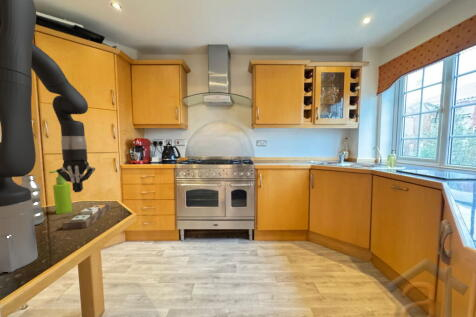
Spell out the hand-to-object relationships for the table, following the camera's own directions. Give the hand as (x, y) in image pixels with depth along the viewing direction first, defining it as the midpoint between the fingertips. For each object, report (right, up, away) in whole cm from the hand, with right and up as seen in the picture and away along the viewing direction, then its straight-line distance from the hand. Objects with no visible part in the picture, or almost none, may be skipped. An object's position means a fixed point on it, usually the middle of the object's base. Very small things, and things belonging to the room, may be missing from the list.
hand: (78, 191), depth 80 cm
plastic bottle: (-19, -14, +1) cm, 23 cm away
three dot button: (-1, -13, +7) cm, 15 cm away
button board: (-1, -13, +7) cm, 15 cm away
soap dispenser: (-19, -12, +15) cm, 28 cm away
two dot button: (0, -14, +1) cm, 14 cm away
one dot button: (-2, -13, +14) cm, 19 cm away
